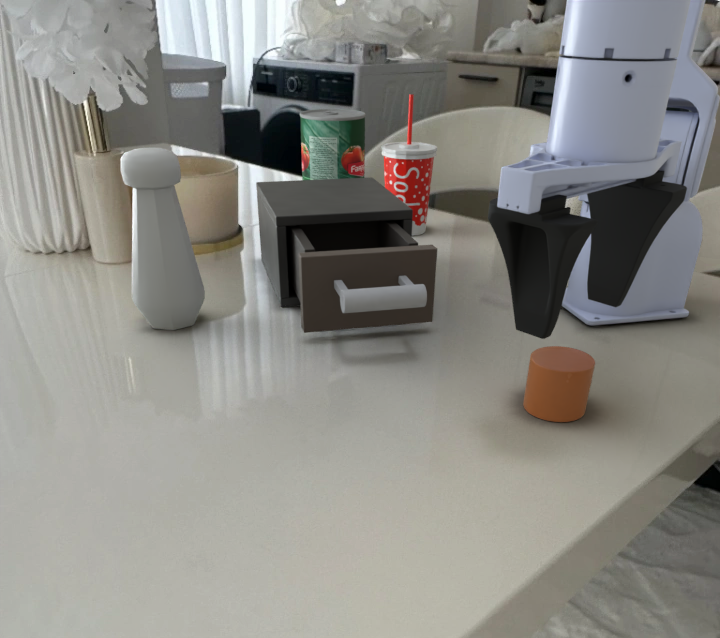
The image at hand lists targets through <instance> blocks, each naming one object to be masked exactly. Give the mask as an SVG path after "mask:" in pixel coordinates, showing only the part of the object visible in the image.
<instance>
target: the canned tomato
mask: <svg viewBox="0 0 720 638" xmlns="http://www.w3.org/2000/svg"><path fill="white" fill-rule="evenodd" d="M366 116H367V115H366V113H365V112H364V111H360V110H356V109H347V108H316V109H307V110H303V111H300V112H299V117H300V145H301V146H300V147H301V152H300V153H301V174H302V178H301V179H302V180H321V179H346V178H365V173H366V172H365V169H366V168H365V166H366V165H365V164H366V163H365V162H366V161H365V160H366V156H365V154H366Z"/></svg>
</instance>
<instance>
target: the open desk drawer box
mask: <svg viewBox="0 0 720 638" xmlns="http://www.w3.org/2000/svg"><path fill="white" fill-rule="evenodd" d="M255 185H256V187H255V188H256V201H257V214H258V228H259V231H258V232H259V243H260V253H261V254H260V258H261V259H260V260H261V263H262V265H263V267H264V270H265V273H266V274H267V277H268V279H269V282H270V284H271V286H272V289H273V291H274V293H275V296H276V298H277V301H278V303H279V305H280V307H281V308H287V307H288V308H289V307H301V305H300V301H299V299H298V297H297V295H296V293H295V290H294V288H293V286H292V284H291V282H290V280H289V277H288V256H287V236H286V226H296V225H314V224H332V223H351V222H369V221H388V220H394V221H395V222H396V223H397V224H398V225H399V226H400V227H401V228H402V229H403V230H405V231H406V232H407V233H408V234H409V235H410V236H411V237H412V238H413V236H412V217H413V210H412V209H411V208H410V207H409V206H407V205H406V204H405V203H404V202H402V201H401V200H400V199H399V198H397V197H396V196H395V195H394V194H392V193H391V192H390V191H389V190H387V189H386V188H385V185H382V184H381V182H379V181H378V180H376V179H375V178H374V177H371V176H370V177H364V178H346V179H321V180H301V179H300V180H297V179H296V180H275V181H274V180H273V181H257V182H255Z"/></svg>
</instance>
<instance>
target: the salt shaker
mask: <svg viewBox="0 0 720 638" xmlns="http://www.w3.org/2000/svg"><path fill="white" fill-rule="evenodd" d="M180 164H181V163H180V160H179V157H178V155H177V154H176V153H175V152H174V151H172V150H170V149H166V148H163V147H140V148H139V147H138V148H134V149H132V150H128V151H126V152H124V153H123V154H122V155H121V157H120V174H121V178H122V182H123V183H124V185H126V186H129V187H130V188H132V199H131V200H132V201H131V203H132V206H131V207H132V208H131V209H132V210H131V214H132V215H131V216H132V218H131V219H132V220H131V221H132V222H131V239H132V240H131V299H132V302H133V304H134V306H135V307H136V308H137V310H138V311H139V312H140V314H142V316H143V317H144V319H145V320H146V322H148V324H149V326H150V327H151V328H152V329H155V330H156V329H157V330H168V331H175V330H180V329H183V328H187V327H191V326H194V325H195V323H196V321H197V319H198V317H199V314H200V311H201V308H202V306H203V304H204V301H205V297H206V294H205V293H206V292H205V286H204V283H203V279H202V276H201V272H200V269H199V265H198V261H197V259H196V255H195V251H194V248H193V245H192V241H191V237H190V234H189V231H188V228H187V223H186V221H185V218H184V214H183V210H182V207H181V203H180V200H179V197H178V194H177V190H176V187H175V185H178V184H179V183H181V179H182V171H181V165H180Z"/></svg>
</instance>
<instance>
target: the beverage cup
mask: <svg viewBox="0 0 720 638" xmlns="http://www.w3.org/2000/svg"><path fill="white" fill-rule="evenodd" d="M414 96H415V95H414V93H409V94H408V115H407V136H406V141H396V142H395V141H394V142H386V143H383V144H381V147H380V148H381V155H382V156H383V177H384V178H383V179H384V187H385V188H386V189H387V190H389V191H390V192H391V193H392V194H394V195H395V196H396V197H397V198H399V199H400V200H401V201H402V202H404V203H405V204H406V205H407V206H409V207H410V208H411V209H412V210H413V217H412V237H413V236H420V235H423V234H424V233H426V228H427V220H428V219H427V218H428V211H429V203H430V196H431V195H430V194H431V186H432V177H433V169H434V160H435V157H437V151H438V146H437V145H435V144H432V143H427V142H420V141H419V142H418V141H417V142H416V141H412V140H413V117H414V98H415V97H414Z"/></svg>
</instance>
